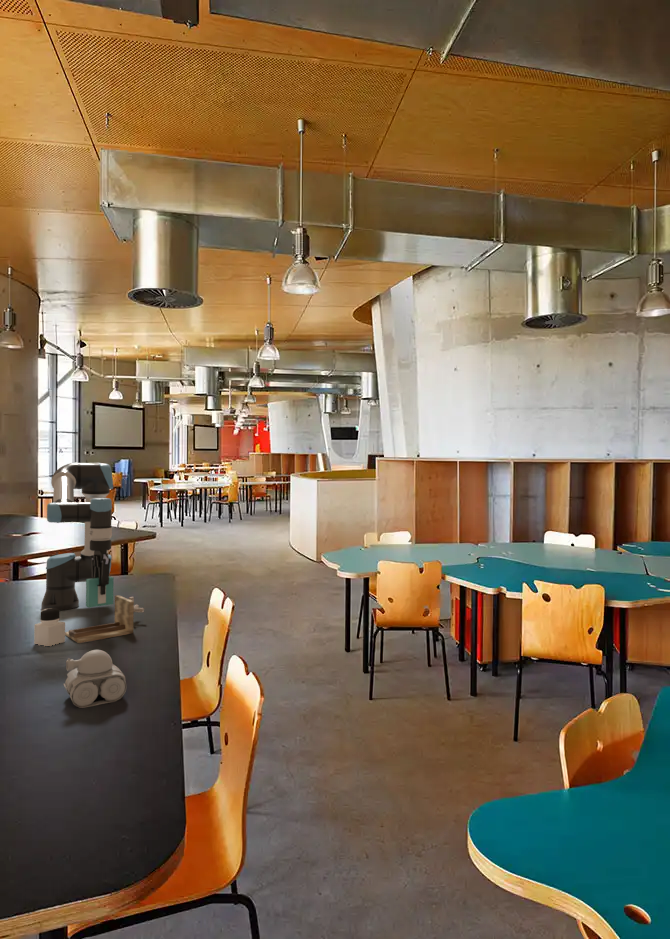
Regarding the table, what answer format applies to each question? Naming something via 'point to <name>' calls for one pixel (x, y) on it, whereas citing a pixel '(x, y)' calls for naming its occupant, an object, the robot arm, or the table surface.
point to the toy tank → (94, 679)
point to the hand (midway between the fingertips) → (99, 602)
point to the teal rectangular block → (93, 592)
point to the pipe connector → (136, 606)
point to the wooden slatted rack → (120, 627)
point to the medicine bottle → (49, 628)
